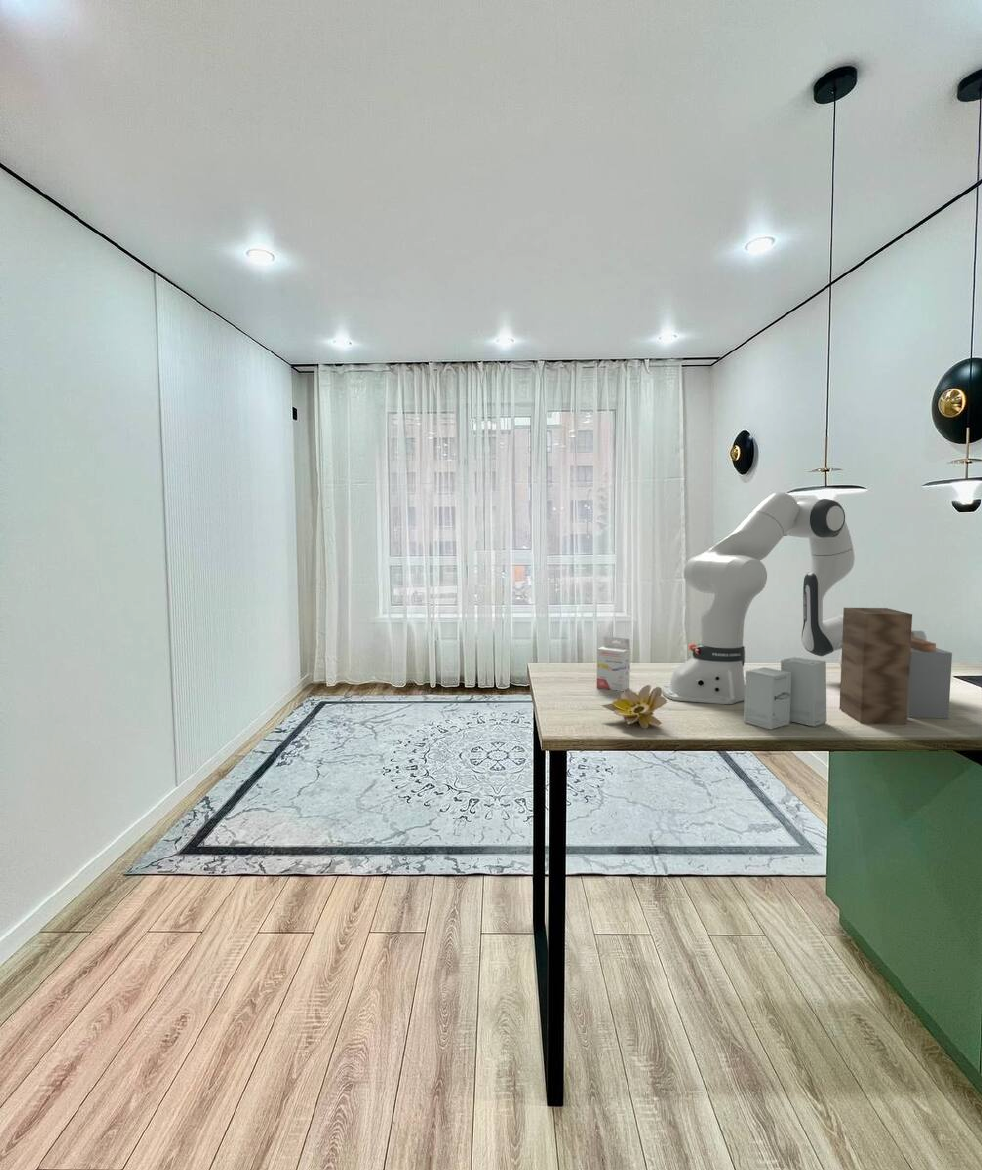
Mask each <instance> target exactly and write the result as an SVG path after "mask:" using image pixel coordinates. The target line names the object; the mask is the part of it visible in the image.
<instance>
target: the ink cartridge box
mask: <svg viewBox="0 0 982 1170" xmlns="http://www.w3.org/2000/svg"><path fill="white" fill-rule="evenodd" d="M616 641H617V642H620V643H616ZM596 651H597V653H596V688H597V689H604V690H609V689H610V691H615V690H617V692H622V691H628V689H630V676H631V675H630V671H631V670H630V669H631V668H630V667H631V664H630V663H631V661H630V660H631V659H630V658H631V649H630V639H629V638H628V637H627V638H626V637H624V638H623V637H619V636H618V637H617V636H615V637H614V636H606V635H604V636H603V646H601V647H598V648H597V650H596Z"/></svg>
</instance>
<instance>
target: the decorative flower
mask: <svg viewBox="0 0 982 1170" xmlns="http://www.w3.org/2000/svg"><path fill="white" fill-rule="evenodd" d="M651 689H652V685H650V684H647V685H645V686H643V687H641V689H639V692H638V693H636V692H632V691H628V690H625V691H624V692H622V691H621V693H620V698H615V699H614V700H613V701H612V703H607V704H603V705H602V704H601V707H603V708H605V709H606V710H609V711H610V712H613V714H615V715H617V716H619V717H623V718H624V719H625V720H626V721H625V722H626V723H627V724H628V725H630V724H633V723H635V722H638V723H639V725H640V727H641V728H643V729H644V730H645V729H647V728H648V727H649V725H650V724H653V725H656V726H659V725H662V724H663V723H662V722H661V720H659V719H658V718H656V717H655V716H654V713H655V711H656V710H657V709H659V708H661V707H663V706H665V705H666V704H667V703H668V700H667V698H666V696H665V697H664V696H662V695H663V692H662V690H663V688H661V686H656V687H654V688H653V689H652V690H651ZM649 723H650V724H649Z"/></svg>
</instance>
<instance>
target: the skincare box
mask: <svg viewBox="0 0 982 1170" xmlns="http://www.w3.org/2000/svg"><path fill="white" fill-rule="evenodd" d="M826 665H827V662H826V661H825V660H819V659H811V658H810V659H809V658H801V657H795V656H792V657H789V658H785V659H782V660H780V670H781V671H786V672H791V694H790V717H789V722H793V723H797V724H801V725H806V726H809V727H813V728H814V727H817V726H820V725H824V724H826V723H827V668H826V667H827V666H826Z"/></svg>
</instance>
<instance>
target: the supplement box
mask: <svg viewBox="0 0 982 1170" xmlns="http://www.w3.org/2000/svg"><path fill="white" fill-rule="evenodd" d="M790 694H791V672H786V671H781V669H774V668H768V667H761V668H756V669H750V670H749V669H748V670H746V671H745V700H744V708H743V709H744V711H743V712H744V713H743V715H744V716H743V722H744V723H746V724H750V725H751V726H752V725H753V726H756V727H760V728H762V729H766V730H770V731H771V730H773V729H777V728H781V727H784V726H789V725H790V721H789V717H790Z"/></svg>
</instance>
